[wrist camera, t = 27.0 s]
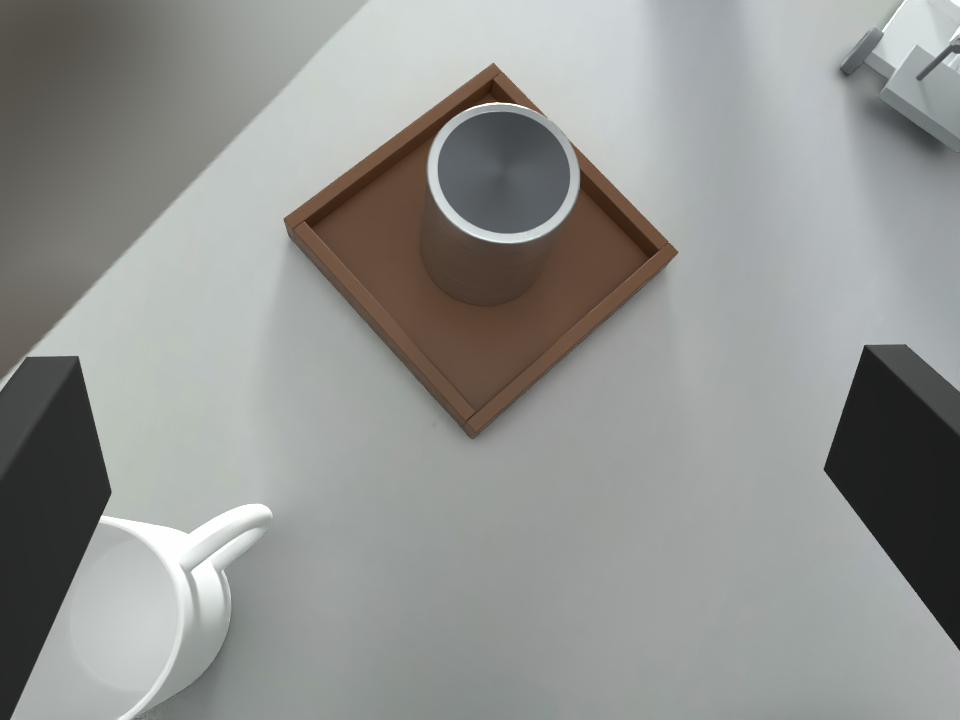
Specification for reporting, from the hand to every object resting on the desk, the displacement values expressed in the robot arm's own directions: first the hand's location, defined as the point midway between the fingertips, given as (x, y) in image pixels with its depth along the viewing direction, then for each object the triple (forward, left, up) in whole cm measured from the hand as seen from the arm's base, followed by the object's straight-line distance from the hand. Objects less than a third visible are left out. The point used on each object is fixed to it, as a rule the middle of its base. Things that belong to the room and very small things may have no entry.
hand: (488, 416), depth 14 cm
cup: (-6, -11, -30) cm, 32 cm away
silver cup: (-9, +13, -29) cm, 33 cm away
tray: (-9, +13, -30) cm, 33 cm away
